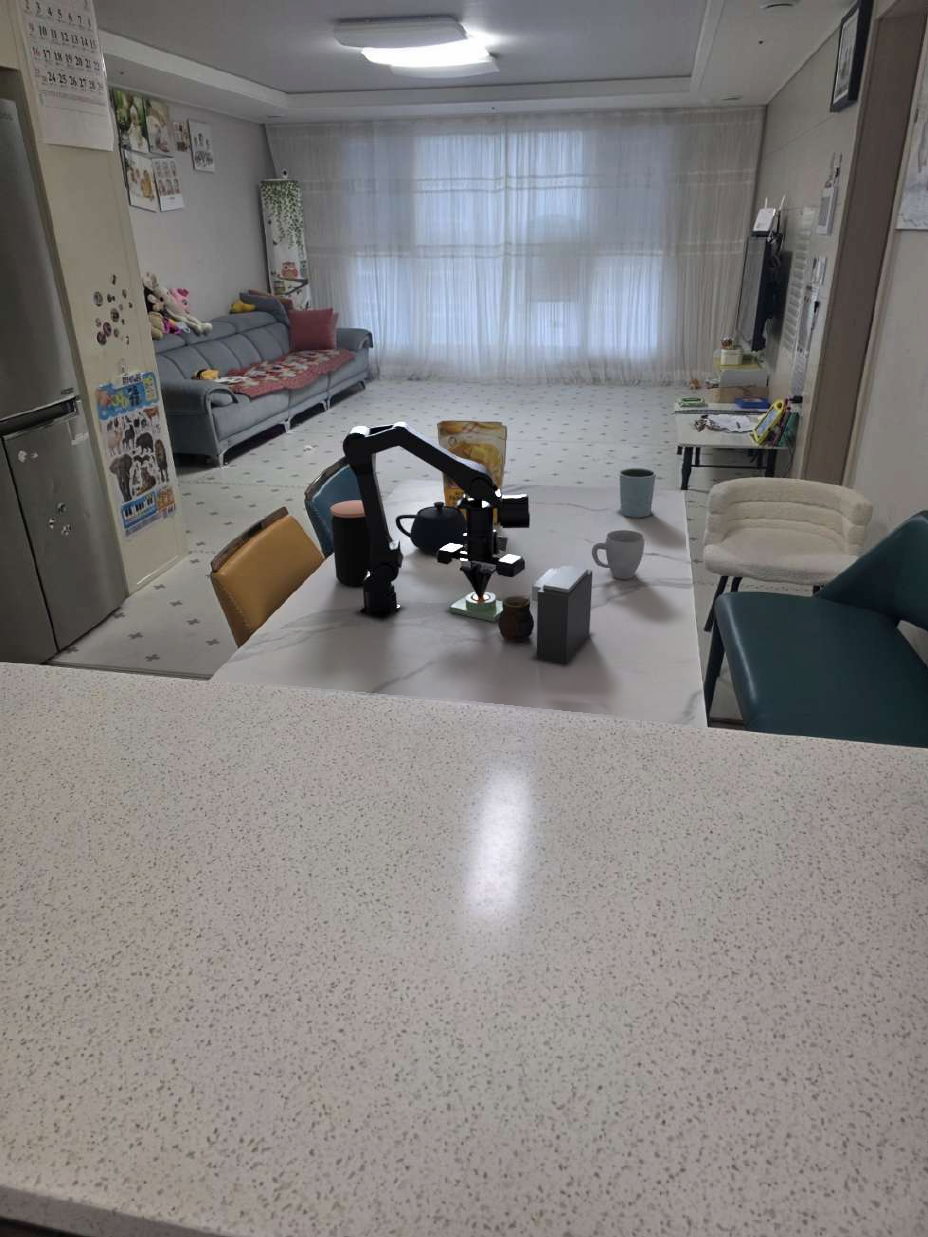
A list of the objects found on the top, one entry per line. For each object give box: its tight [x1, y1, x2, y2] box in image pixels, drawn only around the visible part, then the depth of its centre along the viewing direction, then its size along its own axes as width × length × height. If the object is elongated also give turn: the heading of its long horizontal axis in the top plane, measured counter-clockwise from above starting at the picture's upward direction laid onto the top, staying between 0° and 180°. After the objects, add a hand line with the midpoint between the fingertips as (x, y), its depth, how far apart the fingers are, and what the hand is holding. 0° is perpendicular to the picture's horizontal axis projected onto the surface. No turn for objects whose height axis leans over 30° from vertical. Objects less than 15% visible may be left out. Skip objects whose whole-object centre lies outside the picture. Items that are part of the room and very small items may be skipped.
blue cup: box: [618, 467, 657, 519], centre depth 235 cm, size 10×10×12 cm
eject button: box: [472, 594, 489, 601], centre depth 178 cm, size 4×4×2 cm
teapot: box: [394, 501, 466, 555], centre depth 212 cm, size 25×16×12 cm, turn 81°
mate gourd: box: [497, 595, 535, 643], centre depth 164 cm, size 7×8×10 cm
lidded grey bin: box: [531, 565, 593, 665], centre depth 160 cm, size 8×14×15 cm, turn 154°
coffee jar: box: [330, 499, 371, 588], centre depth 192 cm, size 11×11×18 cm
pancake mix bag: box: [436, 420, 508, 524], centre depth 229 cm, size 7×19×28 cm, turn 77°
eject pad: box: [449, 591, 503, 623], centre depth 178 cm, size 11×8×3 cm
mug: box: [591, 529, 646, 580], centre depth 193 cm, size 12×9×10 cm
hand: (480, 596), depth 177 cm, fingers closed, pressing on eject button
